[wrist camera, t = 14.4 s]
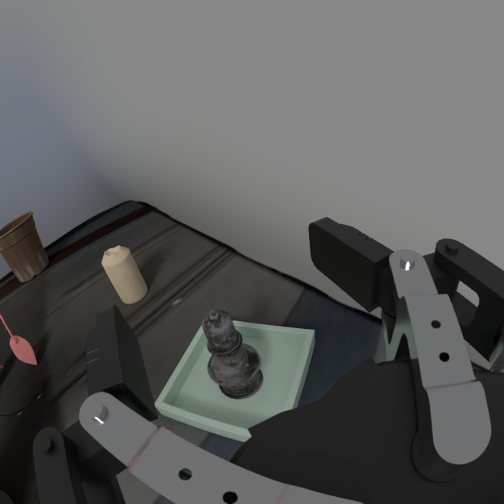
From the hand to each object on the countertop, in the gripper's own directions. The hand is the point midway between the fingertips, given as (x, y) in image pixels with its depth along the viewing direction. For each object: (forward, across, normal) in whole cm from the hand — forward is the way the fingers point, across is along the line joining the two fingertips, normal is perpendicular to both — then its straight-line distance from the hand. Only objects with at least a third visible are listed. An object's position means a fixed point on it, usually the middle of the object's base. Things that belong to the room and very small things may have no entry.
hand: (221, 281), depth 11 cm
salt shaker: (+10, 0, +23) cm, 25 cm away
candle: (+37, +10, +24) cm, 45 cm away
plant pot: (+72, +43, +24) cm, 87 cm away
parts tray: (+11, 0, +23) cm, 25 cm away
